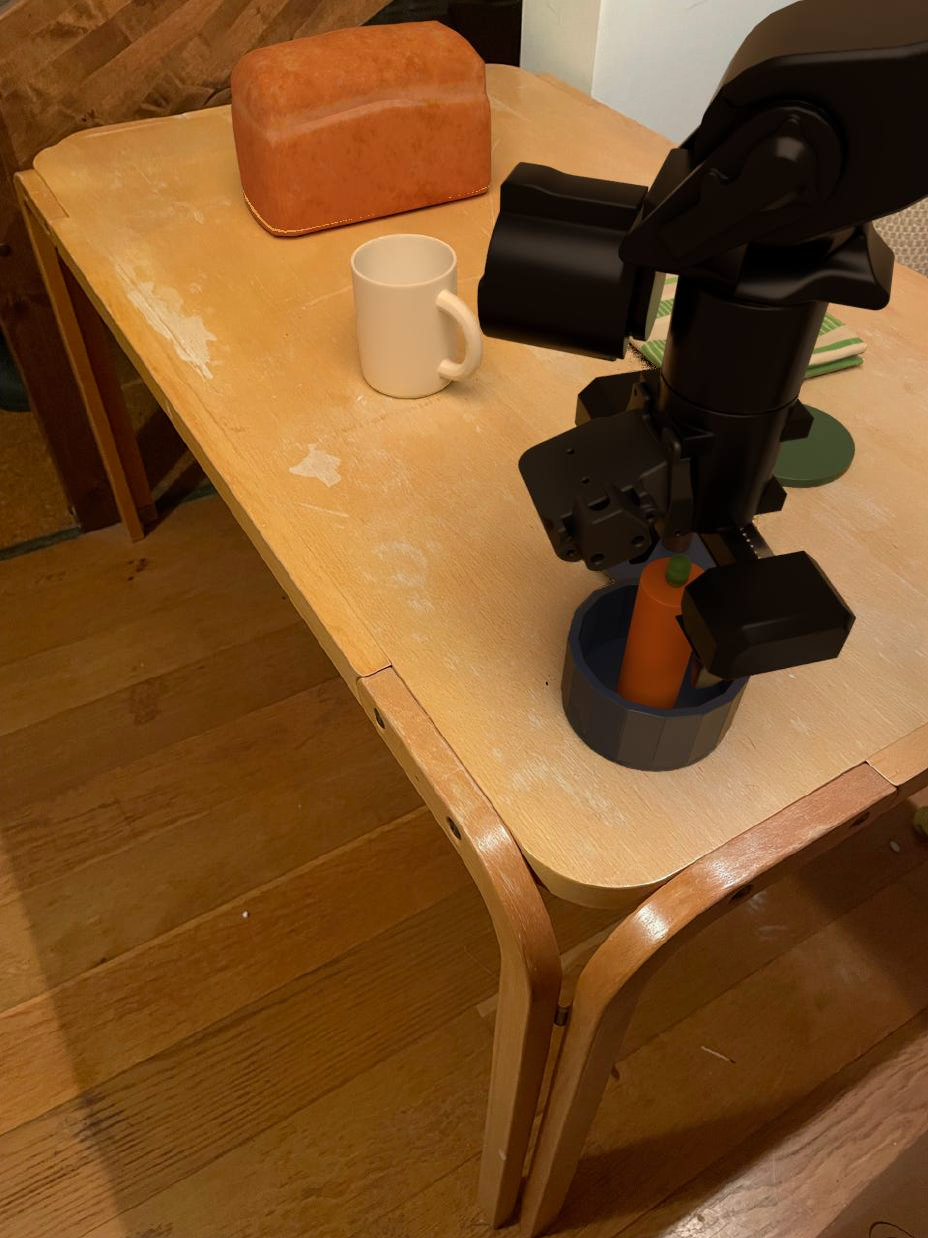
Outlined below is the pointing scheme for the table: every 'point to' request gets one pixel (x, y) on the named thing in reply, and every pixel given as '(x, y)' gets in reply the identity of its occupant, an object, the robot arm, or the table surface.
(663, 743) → the pot
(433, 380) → the mug
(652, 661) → the carrot
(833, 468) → the saucer
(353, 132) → the bread
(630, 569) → the lid
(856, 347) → the dish towel
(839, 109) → the robot arm
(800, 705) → the table surface
